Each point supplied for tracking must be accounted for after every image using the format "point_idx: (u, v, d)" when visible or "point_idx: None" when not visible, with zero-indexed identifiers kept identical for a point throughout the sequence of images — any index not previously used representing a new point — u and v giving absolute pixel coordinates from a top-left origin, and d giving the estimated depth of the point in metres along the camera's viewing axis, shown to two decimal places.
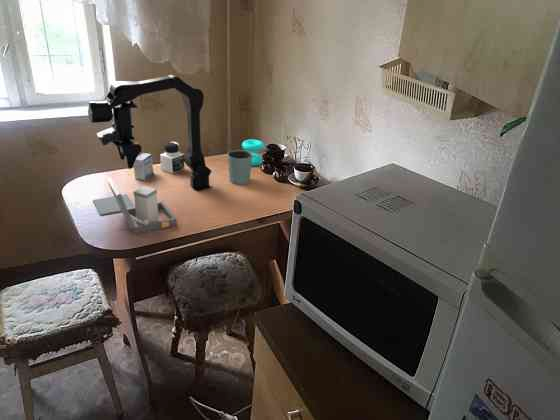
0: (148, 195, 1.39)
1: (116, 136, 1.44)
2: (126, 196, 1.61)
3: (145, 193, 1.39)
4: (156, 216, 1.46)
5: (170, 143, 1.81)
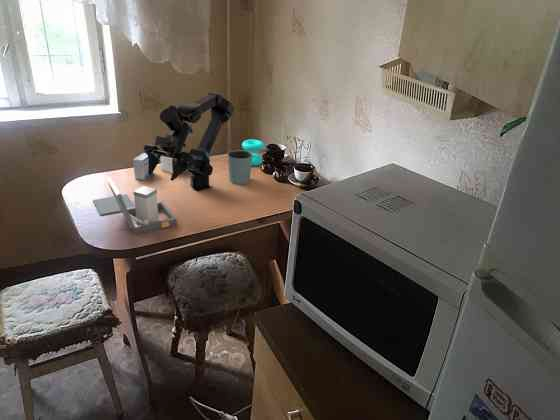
0: (148, 195, 1.39)
1: None
2: (126, 196, 1.61)
3: (145, 193, 1.39)
4: (156, 216, 1.46)
5: None
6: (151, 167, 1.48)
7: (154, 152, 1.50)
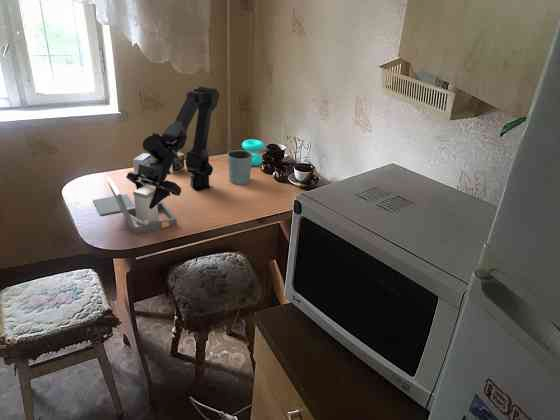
0: (148, 195, 1.39)
1: None
2: (126, 196, 1.61)
3: (145, 193, 1.39)
4: (156, 216, 1.46)
5: None
6: None
7: (142, 181, 1.44)
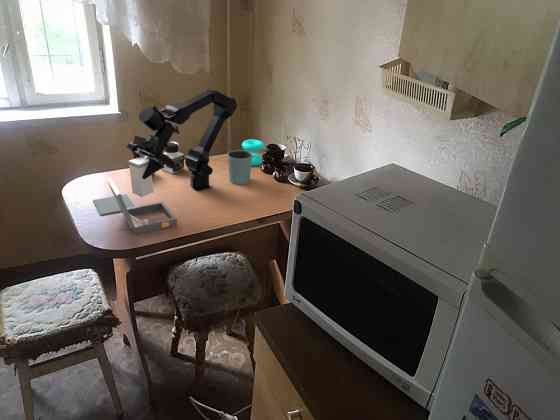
0: (141, 165, 1.43)
1: (154, 145, 1.44)
2: (126, 196, 1.61)
3: (138, 163, 1.43)
4: (150, 187, 1.50)
5: (170, 143, 1.81)
6: None
7: (140, 152, 1.49)
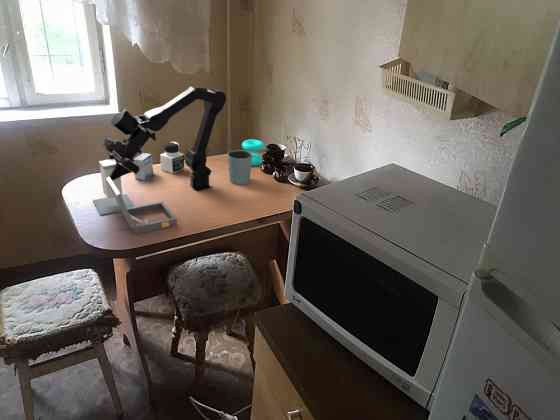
0: (106, 167, 1.45)
1: (123, 149, 1.46)
2: (126, 196, 1.61)
3: (104, 165, 1.45)
4: (119, 190, 1.51)
5: (170, 143, 1.81)
6: None
7: (115, 154, 1.52)
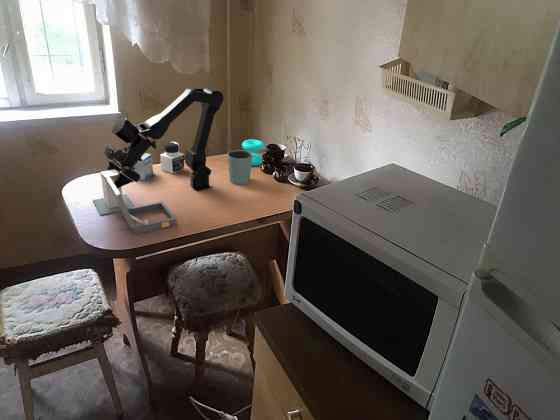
0: None
1: (123, 157, 1.47)
2: (126, 196, 1.61)
3: (105, 175, 1.47)
4: None
5: (170, 143, 1.81)
6: None
7: (114, 161, 1.54)
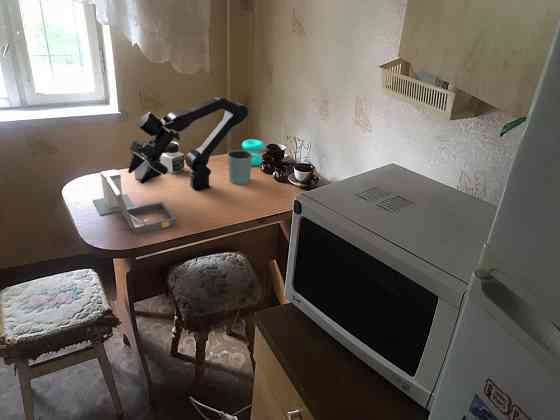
0: None
1: (150, 151, 1.52)
2: (126, 196, 1.61)
3: (105, 175, 1.47)
4: None
5: (170, 143, 1.81)
6: (132, 166, 1.58)
7: (138, 153, 1.59)
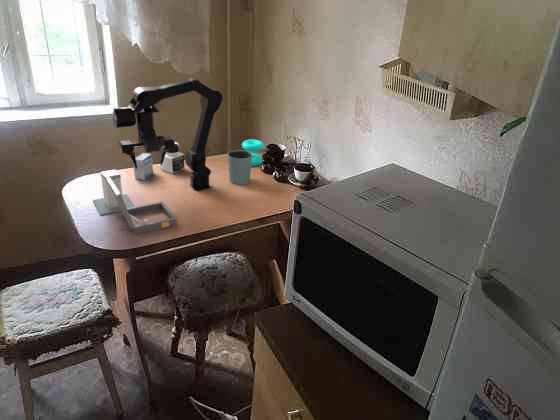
0: None
1: None
2: (126, 196, 1.61)
3: (105, 175, 1.47)
4: None
5: None
6: (135, 162, 1.54)
7: None
